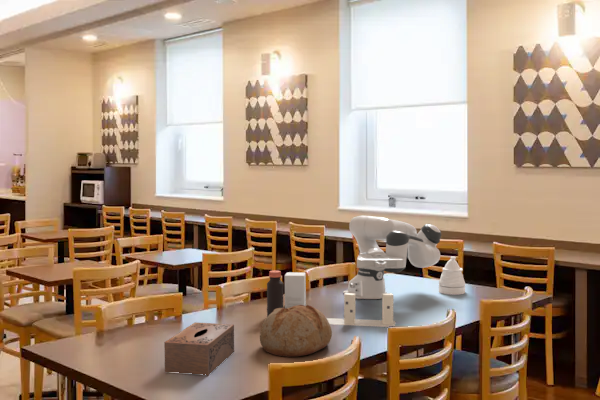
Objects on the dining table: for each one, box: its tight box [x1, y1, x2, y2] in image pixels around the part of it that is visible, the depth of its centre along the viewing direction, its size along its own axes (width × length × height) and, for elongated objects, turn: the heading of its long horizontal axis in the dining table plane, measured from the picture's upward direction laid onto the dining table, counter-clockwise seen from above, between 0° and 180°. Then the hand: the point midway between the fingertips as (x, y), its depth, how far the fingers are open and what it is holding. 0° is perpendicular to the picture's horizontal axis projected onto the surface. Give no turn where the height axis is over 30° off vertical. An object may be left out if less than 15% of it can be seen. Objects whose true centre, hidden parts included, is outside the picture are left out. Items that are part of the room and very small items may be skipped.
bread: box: [259, 304, 333, 358], centre depth 237 cm, size 26×23×15 cm
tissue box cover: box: [164, 321, 235, 376], centre depth 221 cm, size 26×14×10 cm, turn 167°
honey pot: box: [438, 256, 466, 296], centre depth 334 cm, size 13×13×18 cm
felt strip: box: [326, 317, 396, 328], centre depth 272 cm, size 36×10×1 cm, turn 80°
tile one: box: [381, 292, 394, 325], centre depth 269 cm, size 3×4×12 cm
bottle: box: [266, 269, 284, 318], centre depth 279 cm, size 7×7×20 cm
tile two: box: [343, 293, 356, 324], centre depth 270 cm, size 3×4×12 cm
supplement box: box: [284, 271, 307, 309], centre depth 302 cm, size 9×9×15 cm
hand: (382, 265), depth 280 cm, fingers closed
